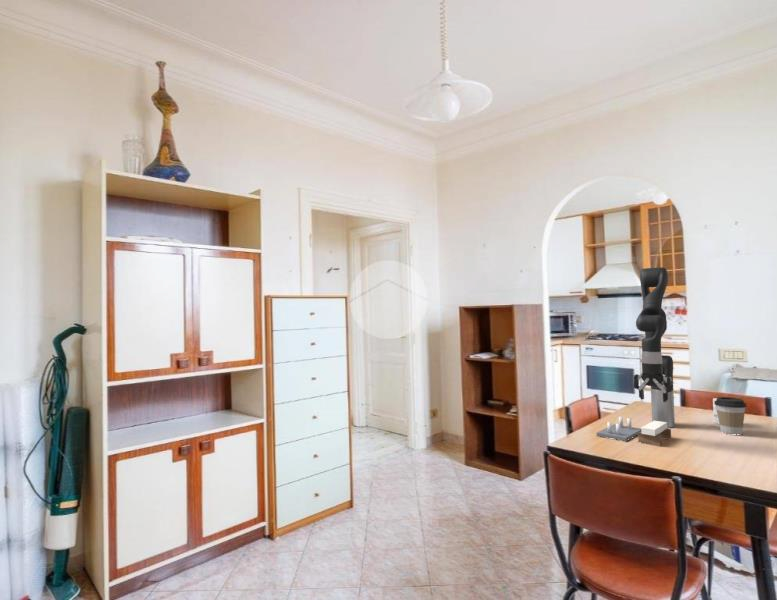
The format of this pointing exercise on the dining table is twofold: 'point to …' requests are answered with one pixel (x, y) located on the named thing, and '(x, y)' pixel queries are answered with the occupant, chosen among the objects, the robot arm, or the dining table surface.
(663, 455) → the dining table surface
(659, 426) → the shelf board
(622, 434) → the peg rack
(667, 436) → the rails
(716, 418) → the ink box
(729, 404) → the coffee cup
